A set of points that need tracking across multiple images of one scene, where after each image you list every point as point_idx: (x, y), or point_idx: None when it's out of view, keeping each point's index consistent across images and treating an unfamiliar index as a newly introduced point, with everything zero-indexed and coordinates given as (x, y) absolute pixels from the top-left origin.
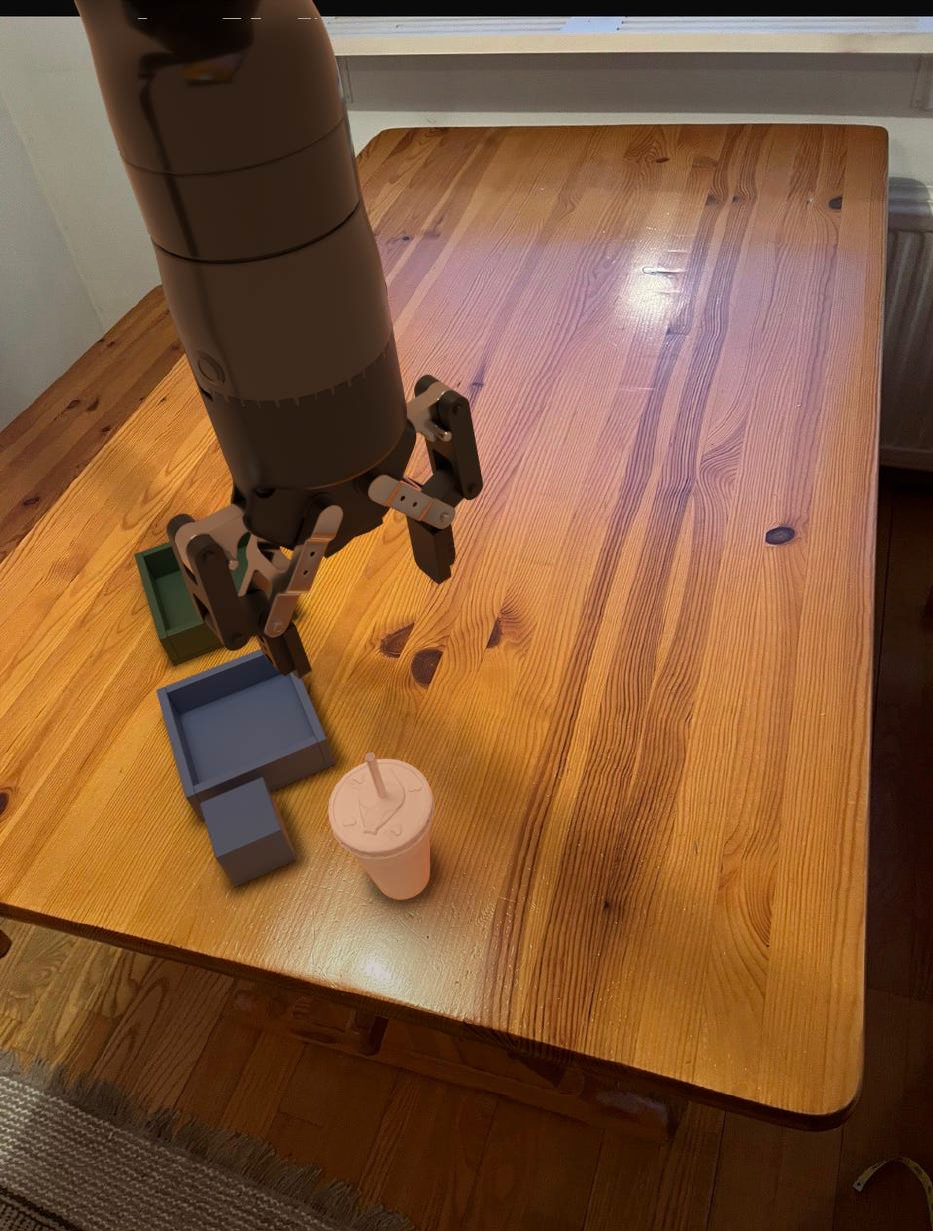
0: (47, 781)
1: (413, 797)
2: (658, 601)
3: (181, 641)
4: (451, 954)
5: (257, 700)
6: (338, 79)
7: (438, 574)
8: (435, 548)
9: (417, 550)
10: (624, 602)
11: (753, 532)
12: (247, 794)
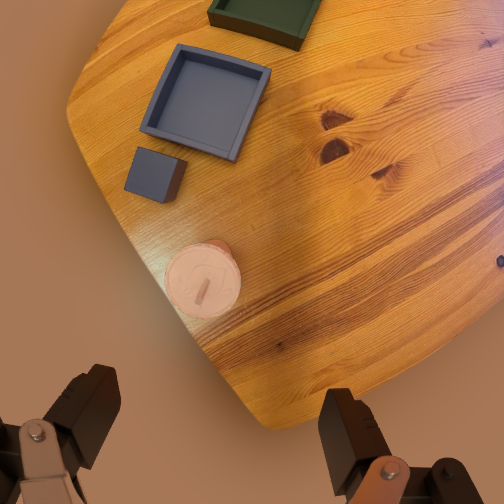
0: (109, 53)
1: (222, 297)
2: (450, 239)
3: (220, 18)
4: None
5: (230, 84)
6: None
7: (321, 437)
8: (330, 476)
9: (335, 418)
10: (441, 224)
11: (499, 249)
12: (162, 164)
